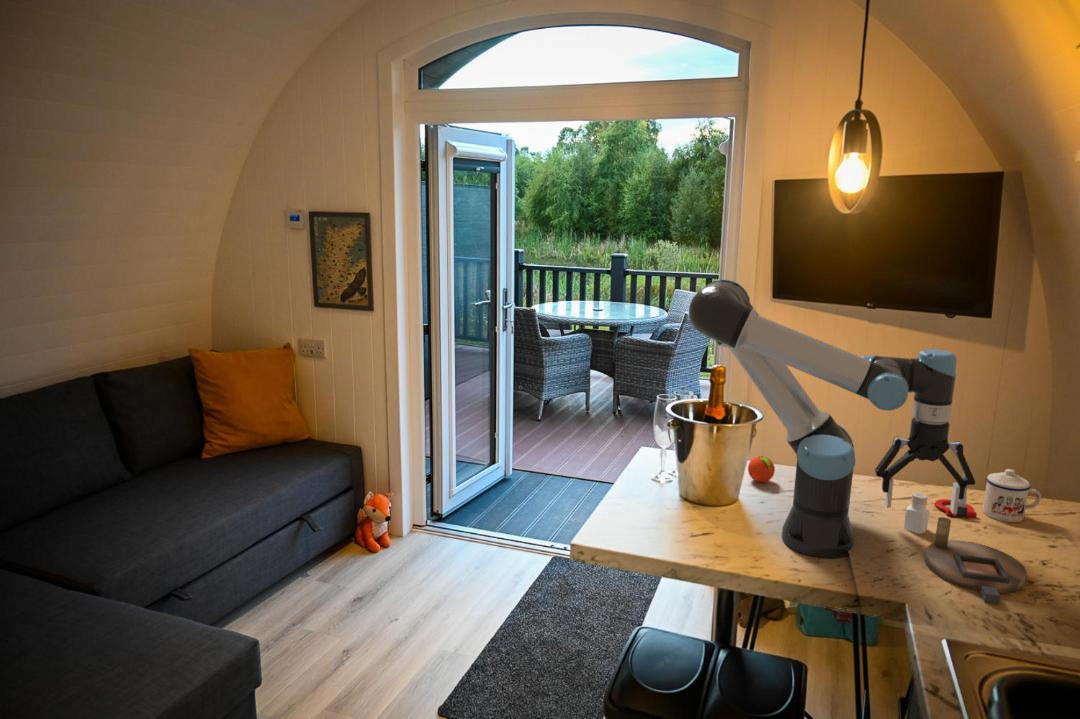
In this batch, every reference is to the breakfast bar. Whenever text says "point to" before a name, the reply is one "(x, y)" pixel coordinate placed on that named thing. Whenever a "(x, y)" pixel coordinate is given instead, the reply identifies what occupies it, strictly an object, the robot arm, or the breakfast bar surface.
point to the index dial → (972, 563)
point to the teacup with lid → (1007, 496)
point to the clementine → (761, 469)
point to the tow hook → (962, 508)
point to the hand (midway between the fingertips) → (920, 508)
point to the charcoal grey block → (990, 595)
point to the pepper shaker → (917, 514)
